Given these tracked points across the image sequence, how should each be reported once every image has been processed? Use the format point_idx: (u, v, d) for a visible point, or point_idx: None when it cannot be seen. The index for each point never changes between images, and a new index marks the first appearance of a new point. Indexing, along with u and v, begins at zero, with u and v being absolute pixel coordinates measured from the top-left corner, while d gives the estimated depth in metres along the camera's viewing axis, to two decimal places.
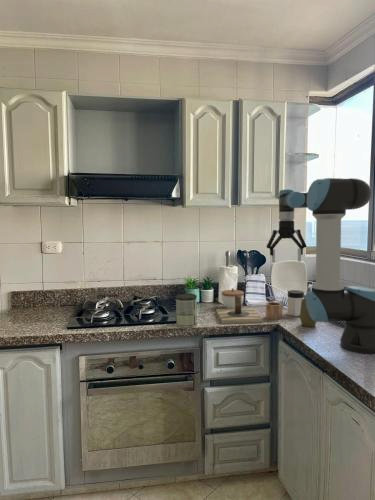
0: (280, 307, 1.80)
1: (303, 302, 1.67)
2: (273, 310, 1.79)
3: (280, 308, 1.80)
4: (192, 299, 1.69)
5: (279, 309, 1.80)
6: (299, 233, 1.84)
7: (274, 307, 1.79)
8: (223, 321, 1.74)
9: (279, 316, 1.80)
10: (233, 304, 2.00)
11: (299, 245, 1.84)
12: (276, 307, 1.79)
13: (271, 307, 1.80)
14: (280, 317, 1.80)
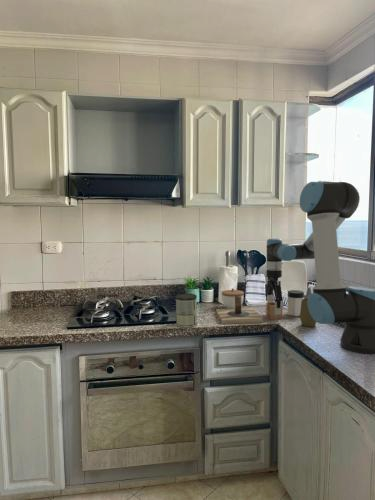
0: None
1: (303, 302, 1.67)
2: (273, 310, 1.79)
3: None
4: (192, 299, 1.69)
5: None
6: (275, 285, 1.76)
7: (274, 307, 1.79)
8: (223, 321, 1.74)
9: (279, 316, 1.80)
10: (233, 304, 2.00)
11: (275, 297, 1.76)
12: None
13: (271, 307, 1.80)
14: (280, 317, 1.80)
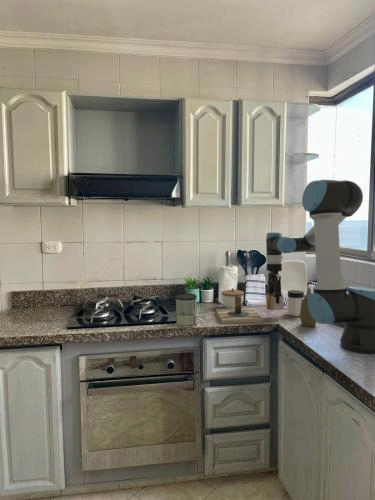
0: (280, 297, 1.79)
1: (303, 302, 1.67)
2: (273, 300, 1.79)
3: (280, 298, 1.79)
4: (192, 299, 1.69)
5: None
6: (275, 280, 1.76)
7: None
8: (223, 321, 1.74)
9: None
10: (233, 304, 2.00)
11: (274, 292, 1.78)
12: None
13: (271, 297, 1.79)
14: (280, 307, 1.80)
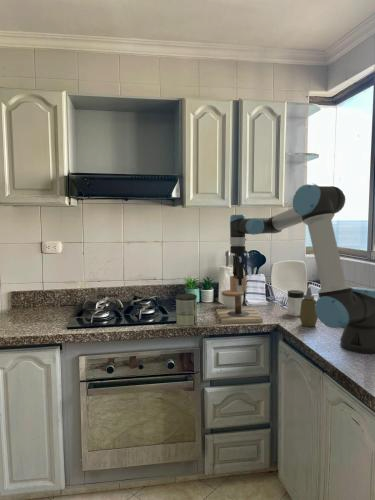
0: (243, 279, 1.80)
1: (303, 302, 1.67)
2: (236, 282, 1.79)
3: (243, 280, 1.80)
4: (192, 299, 1.69)
5: None
6: (237, 262, 1.76)
7: None
8: (223, 321, 1.74)
9: None
10: (233, 304, 2.00)
11: (237, 274, 1.78)
12: None
13: (234, 279, 1.80)
14: (243, 289, 1.80)
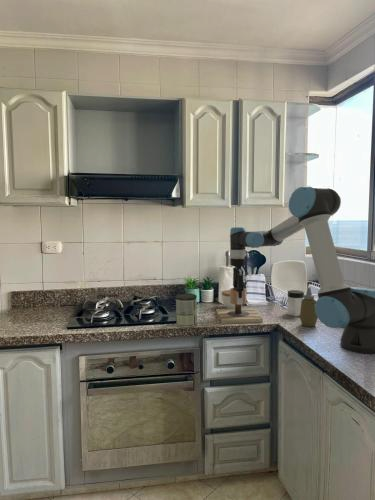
0: (243, 292, 1.80)
1: (303, 302, 1.67)
2: (236, 295, 1.80)
3: (243, 293, 1.80)
4: (192, 299, 1.69)
5: None
6: (238, 274, 1.77)
7: None
8: (223, 321, 1.74)
9: None
10: (233, 304, 2.00)
11: (237, 287, 1.79)
12: None
13: (234, 292, 1.80)
14: (244, 302, 1.81)
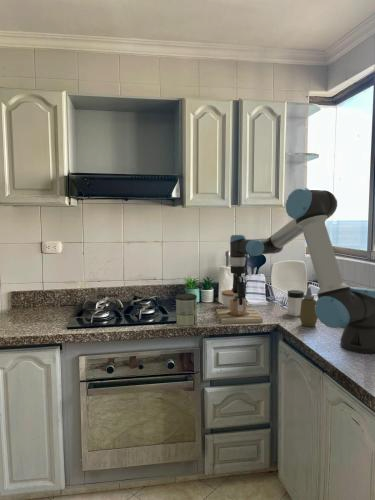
0: (244, 303, 1.81)
1: (303, 302, 1.67)
2: (237, 306, 1.80)
3: (244, 304, 1.81)
4: (192, 299, 1.69)
5: (243, 305, 1.81)
6: (238, 281, 1.77)
7: (237, 303, 1.80)
8: (223, 321, 1.74)
9: (243, 312, 1.81)
10: None
11: (237, 294, 1.78)
12: None
13: (235, 303, 1.81)
14: (244, 313, 1.81)
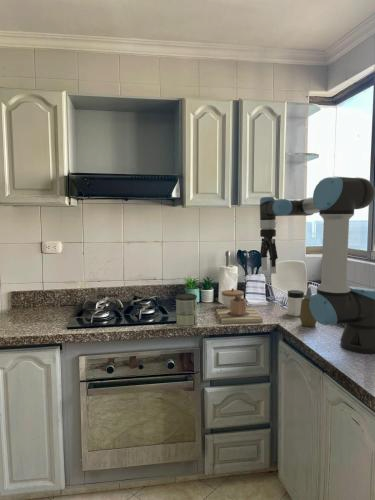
0: (244, 303, 1.81)
1: (303, 302, 1.67)
2: (237, 306, 1.80)
3: (244, 304, 1.81)
4: (192, 299, 1.69)
5: (243, 305, 1.81)
6: (269, 243, 1.71)
7: (237, 303, 1.80)
8: (223, 321, 1.74)
9: (243, 312, 1.81)
10: None
11: (270, 256, 1.71)
12: (239, 303, 1.80)
13: (235, 303, 1.81)
14: (244, 313, 1.81)
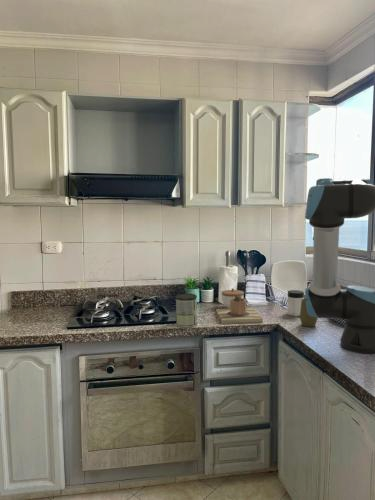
0: (244, 303, 1.81)
1: (303, 302, 1.67)
2: (237, 306, 1.80)
3: (244, 304, 1.81)
4: (192, 299, 1.69)
5: (243, 305, 1.81)
6: None
7: (237, 303, 1.80)
8: (223, 321, 1.74)
9: (243, 312, 1.81)
10: None
11: None
12: (239, 303, 1.80)
13: (235, 303, 1.81)
14: (244, 313, 1.81)
